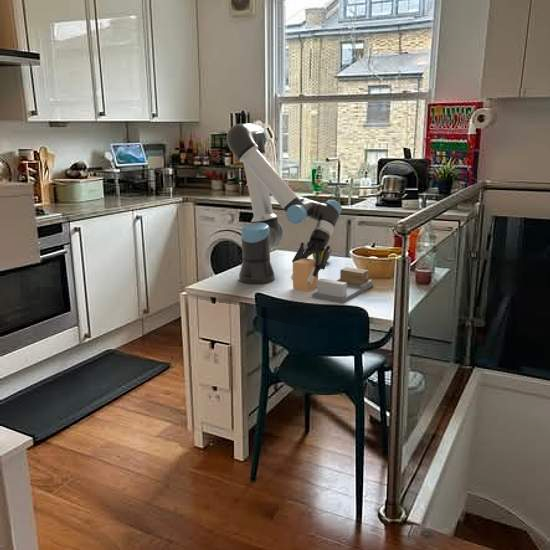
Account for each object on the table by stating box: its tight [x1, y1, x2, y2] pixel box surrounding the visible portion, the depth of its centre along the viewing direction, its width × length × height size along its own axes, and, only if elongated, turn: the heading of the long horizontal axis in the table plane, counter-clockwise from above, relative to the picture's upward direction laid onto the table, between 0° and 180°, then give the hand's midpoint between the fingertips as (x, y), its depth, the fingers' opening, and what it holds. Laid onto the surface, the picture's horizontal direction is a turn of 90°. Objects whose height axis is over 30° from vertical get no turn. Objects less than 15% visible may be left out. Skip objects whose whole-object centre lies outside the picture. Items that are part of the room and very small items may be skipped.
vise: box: [311, 277, 374, 304], centre depth 215 cm, size 26×13×6 cm, turn 145°
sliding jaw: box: [339, 266, 369, 285], centre depth 222 cm, size 5×10×5 cm, turn 55°
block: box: [292, 258, 319, 292], centre depth 221 cm, size 8×7×11 cm
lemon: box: [312, 249, 332, 260], centre depth 260 cm, size 11×8×8 cm
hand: (301, 281), depth 219 cm, fingers closed on block, 7 cm apart
